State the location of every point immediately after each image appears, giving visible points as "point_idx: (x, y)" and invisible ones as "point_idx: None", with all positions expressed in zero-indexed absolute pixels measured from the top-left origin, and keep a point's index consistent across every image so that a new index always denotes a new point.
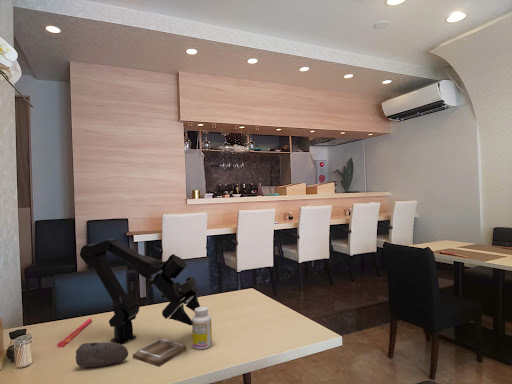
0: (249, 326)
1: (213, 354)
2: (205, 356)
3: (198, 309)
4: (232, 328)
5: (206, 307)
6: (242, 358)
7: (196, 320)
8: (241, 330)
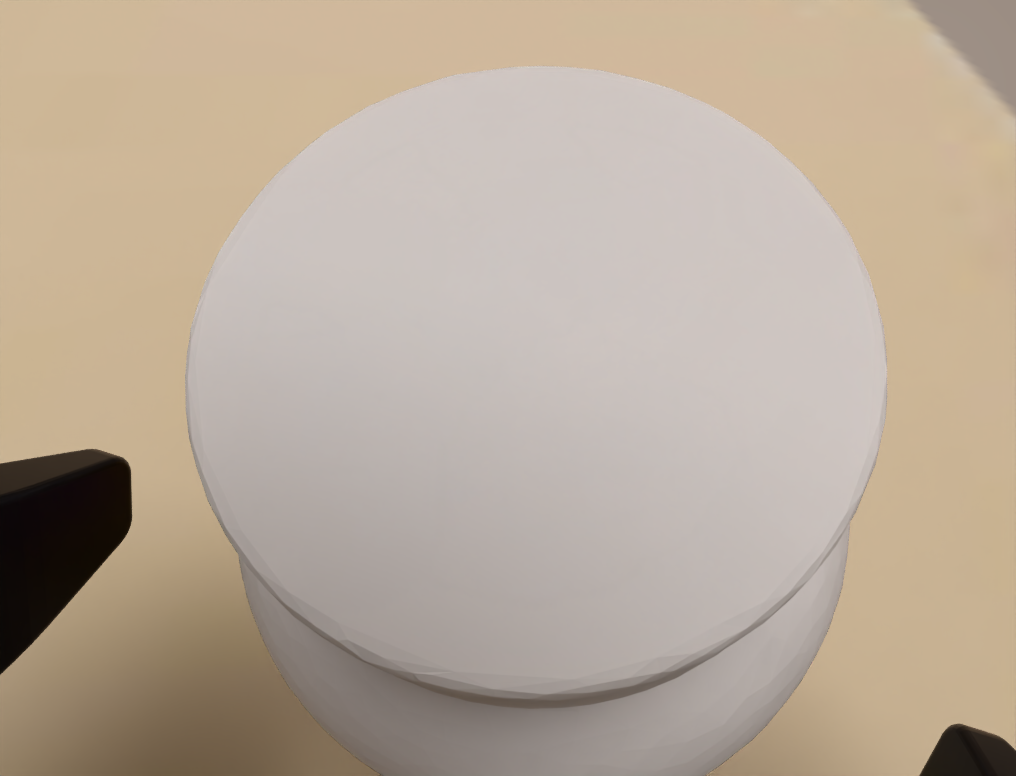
0: (104, 61)
1: None
2: (889, 525)
3: (617, 447)
4: (80, 228)
5: (402, 119)
6: (912, 122)
7: (820, 608)
8: (185, 134)
